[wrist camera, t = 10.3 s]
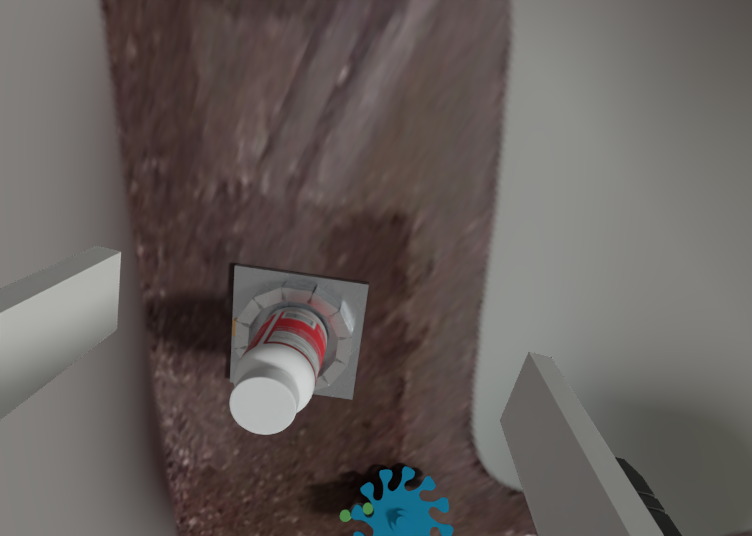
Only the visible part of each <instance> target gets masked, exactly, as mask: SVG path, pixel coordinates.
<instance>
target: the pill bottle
mask: <svg viewBox="0 0 752 536" xmlns="http://www.w3.org/2000/svg"><path fill="white" fill-rule="evenodd" d="M326 346H327V333H326V329H325V327H324V325H323V323H322V322H321V320H320V319H319V318H318V317H317V316H316V315H315V314H313V313H312V312H310V311H308V310H306V309H303V308H298V307H286V308H282V309H279V310H277V311H275V312H274V313H272V314H271V315H270V316H269V317H268V318H267V319H266V320H265V322H264V323H263V325H262V326H261V328H260V329H259V331H258V332H257V334H256V336H255V337H254V339H253V340H252V342H251V343H250V345H249V346H248V348H247V349H246V351H245V352H244V354H243V355H242V357H241V358H240V360H239V362H238V364H237V366H236V369H235V372H234V389H233V391H232V393H231V396H230V403H229V404H230V410H231V413H232V415H233V417H234V419H235V420H236V421H237V423H238V424H239V425H241V426H242V427H243V428H245V429H246V430H248V431H250V432H253V433H257V434H264V435H267V434H274V433H277V432H280V431H282V430H284V429H285V428H286V427H288V426H289V425H290V424H291V422H292V421H293V419H294V417H295V414H296V413H297V412H299V411H300V410H301V409H303V408H304V407H305V406H306V404H307V403H308V402H309V400H310V398H311V396H312V394H313V391H314V388H315V385H316V381H317V378H318V374H319V371H320V367H321V364H322V361H323V357H324V354H325V350H326Z"/></svg>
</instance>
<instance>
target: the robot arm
mask: <svg viewBox="0 0 752 536" xmlns="http://www.w3.org/2000/svg"><path fill="white" fill-rule="evenodd" d="M120 261H121V252H120V251H115V250H111V249H107V248H103V247H98V246H95V247H92V248H90V249H88V250H86V251H84V252H81V253H79V254H77V255H74V256H72V257H70V258H68V259H66V260H64V261H61V262H59V263H57V264H54V265H52V266H50V267H48V268H45V269H43V270H41V271H38V272H36V273H34V274H32V275H29V276H27V277H25V278H23V279H21V280H18V281H16V282H14V283H11V284H9V285H7V286H5V287H3V288H0V420H1V419H2V418H3V417H5V416H6V415H7V414H9V413H10V412H11V411H12V410H14V409H15V408H16V407H17V406H19V405H20V404H21V403H23V402H24V401H25V400H26V399H28V398H29V397H30V396H32V395H33V394H34V393H36V392H37V391H38V390H39V389H40V388H42V387H43V386H45V385H46V384H47V383H48V382H50V381H51V380H52V379H54V378H55V377H56V376H57V375H59V374H60V373H61V372H62V371H64V370H65V369H66V368H68V367H69V366H70V365H72V364H73V363H74V362H76V361H77V360H78V359H79V358H81V357H82V356H83V355H85V354H86V353H87V352H88V351H90V350H91V349H92V348H94V347H95V346H96V345H97V344H99V343H100V342H101V341H102V340H104V339H105V338H106V337H108V336H109V335H110V334H112V333H113V332H114V331H115V330H117V317H118V297H119V279H120ZM500 422H501V425H502V428H503V431H504V434H505V437H506V440H507V443H508V446H509V449H510V452H511V455H512V458H513V461H514V464H515V467H516V470H517V473H518V476H519V479H520V482H521V485H522V488H523V491H524V494H525V497H526V500H527V503H528V506H529V509H530V512H531V515H532V518H533V521H534V524H535V527H536V530H537V533H538V536H682V535H681V534H680V532H679V531H678V529H677V528H676V526H675V525H674V523H673V522H672V520H671V519H670V517H669V516H668V515H667V514H665V510H664V508H663V507H662V505H661V504H660V502H659V501H658V499H655V498H654V494H653V492H652V491H651V489H650V488H649V486H648V485H647V483H646V482H645V480H644V479H643V477H642V476H641V475H640V474H639V473H638V472H637V471H636V470H635V469H634V468H633V467H632V466H630V465H629V464H628V463H627V462H626V461H625V460H624V459H621V458H617V457H614V456H613V454H612V452H611V451H610V449H609V448H608V446H607V445H606V443H605V441H604V440H603V438H602V436H601V435H600V433H599V432H598V430H597V429H596V427H595V425H594V424H593V422H592V421H591V419H590V417H589V416H588V414H587V413H586V411H585V410H584V408H583V406H582V405H581V403H580V402H579V400H578V399H577V397H576V395H575V394H574V392H573V391H572V389H571V388H570V386H569V384H568V383H567V381H566V379H565V378H564V376H563V375H562V373H561V372H560V370H559V368H558V367H557V365H556V364H555V362H554V361H553V359H552V357H548V356H544V355H540V354H536V353H531V352H528V355H527V357H526V359H525V362H524V364H523V367H522V369H521V371H520V374H519V376H518V379H517V381H516V383H515V386H514V388H513V391H512V393H511V396H510V398H509V400H508V403H507V405H506V407H505V410H504V412H503V414H502V417H501V419H500Z"/></svg>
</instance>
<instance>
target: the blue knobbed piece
mask: <svg viewBox="0 0 752 536" xmlns="http://www.w3.org/2000/svg"><path fill="white" fill-rule="evenodd" d="M379 475H380V478H381V480H382V482H383V496H382V499H381V500H379V501H377V500H375V499H374V497H373V492H374V486H373V484H372V483H371V482H368V483H366V484H365V485H363V486H362V487H361V488H360V489H361V493H362V494H363V495H365V496H366V497H367V498H368V499H369V500H370V501H371V503H365V504H364V503H355V504H353V505H352V507H351V509H350V510H347V509H346V510H343V511H342V512H341V513H340V519H341V520H342V521H343V522H347V521H349V520H350V519H351V517H352V518H353V519H354V520H356V521H361V522H365V523H368V524H369V525H370V526H371V527H372V528H373V530H374V534H373V536H430V529H431V528H432V527H437V528H438V529H439V531H440V533H441V536H452V533H453V527H452V526H451V525H449V524H440V523H438V522H436V521H435V520H433V519H432V518H431V517H430V515H429V509H430V508H431V507H433V506H434V507H436V508H437V509H439V510H440V511H441V512H444V513H445V512H448V510H449V504H448V500H447V498H444V497H443V498H440V499H439V500H437V501H434V502H426V501H422V500H421V499H420V497H419V493H420V491H421V490H428V491H431V490H433V489H434V488H435V487H436V485H435V483H434V481H433V480H432V478H431V477H430V476H427V477H426V478H425V479H424V480H423V483H422V484H421V485H420V487H418V488H417V489H415V490H413V491H407V490H406V489H405V487H404V484H405V482H406V481H408V480H410V479H412V478H413V477H414V475H415V471H414V470H413V469H411V468H409V467H406V466H405V467H404V468H403V470H402V480H401V483H400V485H399V486H398V488H397V489H396V490H395V491H390V490H389V489H388V482H389V481H390V480H391V478H392V471H391V470H387V469H386V470H380V473H379ZM354 536H365V535H364V534H363V533H362V532H360V531H357V532H355V533H354Z"/></svg>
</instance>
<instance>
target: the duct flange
mask: <svg viewBox="0 0 752 536" xmlns="http://www.w3.org/2000/svg"><path fill="white" fill-rule="evenodd" d="M368 286H369V282H362V281H355V280H348V279H341V278H334V277H327V276H320V275H313V274H306V273H299V272H292V271H286V270H279V269H272V268H265V267H258V266H251V265H244V264H236V265H235V269H234V294H233V318H232V343H231V368H230V382H233V383H234V372H235V369H236V366H237V364H238V362H239V360H240V358H241V357H242V355H243V354H244V352H245V351H246V349H247V348H248V346H249V345H250V343H251V342H252V340H253V339H254V337H255V336H256V334H257V332H258V331H259V329H260V328H261V326H262V325H263V323H264V322H265V320H266V319H267V318H268V317H269V316H270V315H271V314H272V313H274V312H275V311H277V310H279V309H282V308H286V307H298V308H303V309H306V310H308V311H310V312H312V313H313V314H315V315H316V316H317V317H318V318H319V319H320V320H321V322H322V323H323V325H324V327H325V329H326V333H327V346H326V350H325V354H324V357H323V361H322V364H321V367H320V371H319V374H318V378H317V381H316V385H315V388H314V391H313V394H317V395H324V396H331V397H338V398H345V399H352V398H353V391H354V384H355V377H356V370H357V363H358V356H359V349H360V342H361V335H362V328H363V321H364V314H365V307H366V300H367V293H368Z"/></svg>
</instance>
